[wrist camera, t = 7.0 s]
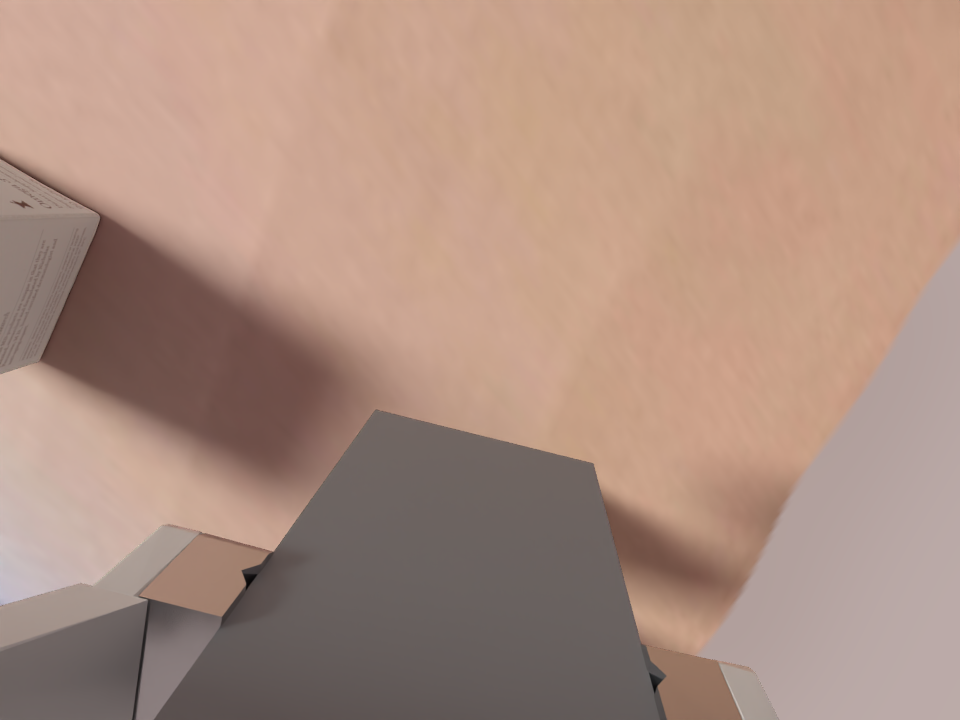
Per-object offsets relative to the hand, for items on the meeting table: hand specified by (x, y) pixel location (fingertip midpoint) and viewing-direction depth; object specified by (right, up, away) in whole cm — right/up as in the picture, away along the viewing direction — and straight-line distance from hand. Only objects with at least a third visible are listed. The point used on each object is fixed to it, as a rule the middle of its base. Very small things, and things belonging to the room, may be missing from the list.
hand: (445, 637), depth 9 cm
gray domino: (0, +1, +6) cm, 6 cm away
